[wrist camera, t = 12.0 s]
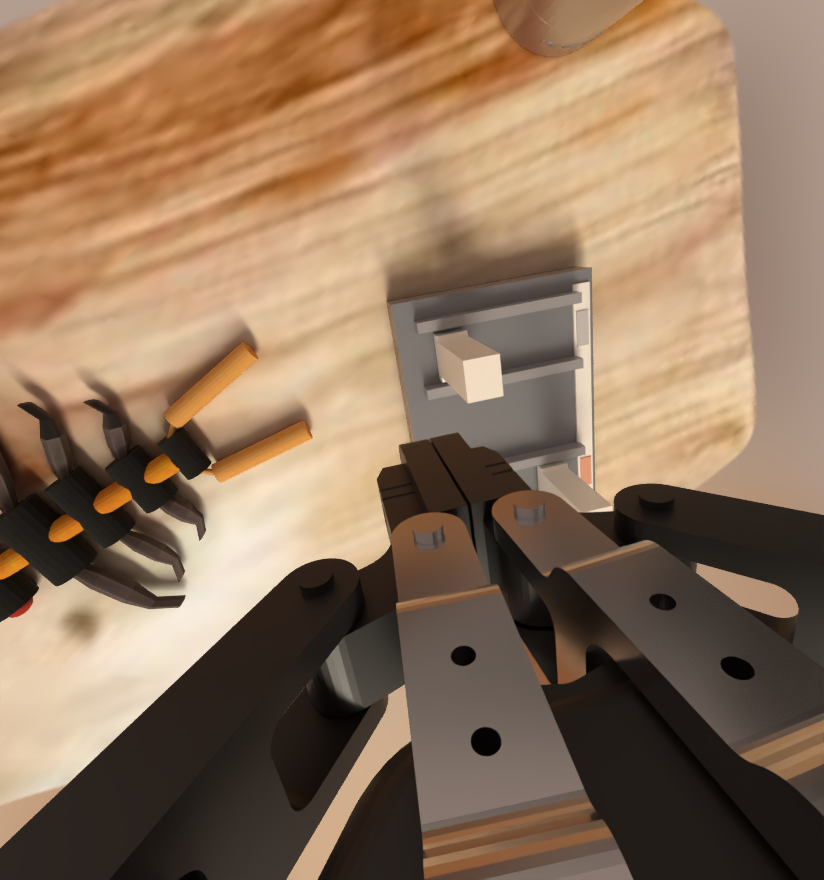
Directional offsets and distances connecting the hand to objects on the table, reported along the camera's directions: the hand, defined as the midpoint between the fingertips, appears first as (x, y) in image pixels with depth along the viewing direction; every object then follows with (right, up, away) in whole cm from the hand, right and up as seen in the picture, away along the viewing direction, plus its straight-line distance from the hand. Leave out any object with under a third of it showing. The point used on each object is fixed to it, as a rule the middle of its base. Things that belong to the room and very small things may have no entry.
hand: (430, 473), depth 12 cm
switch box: (+7, +3, +32) cm, 33 cm away
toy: (-24, -2, +29) cm, 37 cm away
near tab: (+3, +8, +26) cm, 27 cm away
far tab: (+12, -3, +32) cm, 34 cm away
